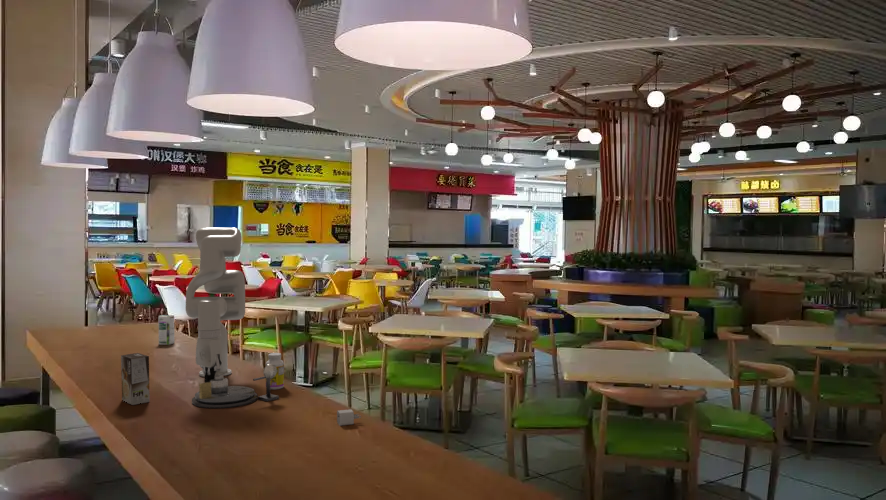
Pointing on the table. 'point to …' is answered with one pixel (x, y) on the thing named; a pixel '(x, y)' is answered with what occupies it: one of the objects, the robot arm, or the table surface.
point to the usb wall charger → (346, 417)
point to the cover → (219, 384)
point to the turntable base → (227, 405)
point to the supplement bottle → (278, 379)
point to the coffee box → (135, 378)
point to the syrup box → (166, 329)
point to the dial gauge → (268, 382)
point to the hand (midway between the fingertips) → (209, 384)
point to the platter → (223, 394)
